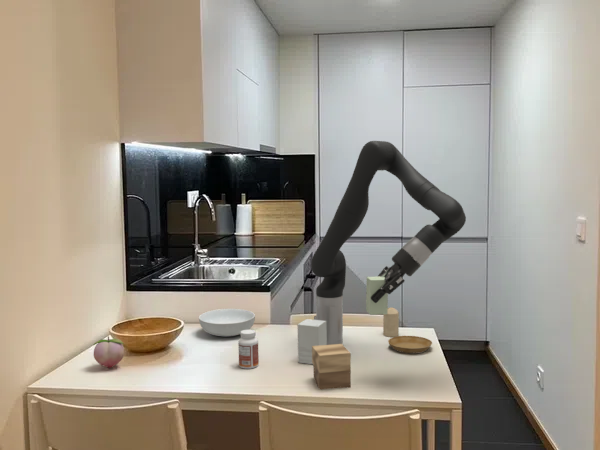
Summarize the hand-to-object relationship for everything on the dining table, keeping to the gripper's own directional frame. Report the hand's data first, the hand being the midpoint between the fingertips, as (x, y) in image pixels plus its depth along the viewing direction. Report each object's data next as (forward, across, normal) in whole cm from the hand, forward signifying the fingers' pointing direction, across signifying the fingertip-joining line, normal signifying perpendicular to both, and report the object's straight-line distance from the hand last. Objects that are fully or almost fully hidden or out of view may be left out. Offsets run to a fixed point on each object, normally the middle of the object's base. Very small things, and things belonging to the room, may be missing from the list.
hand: (370, 298), depth 175 cm
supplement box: (+27, -20, +8) cm, 35 cm away
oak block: (+22, 0, +6) cm, 23 cm away
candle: (+4, -44, +31) cm, 53 cm away
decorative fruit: (+73, -22, -37) cm, 85 cm away
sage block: (+2, 0, +4) cm, 5 cm away
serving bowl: (+47, -55, -11) cm, 73 cm away
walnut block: (+25, 0, +10) cm, 27 cm away
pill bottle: (+42, -17, -7) cm, 46 cm away
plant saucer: (+3, -27, +32) cm, 42 cm away
